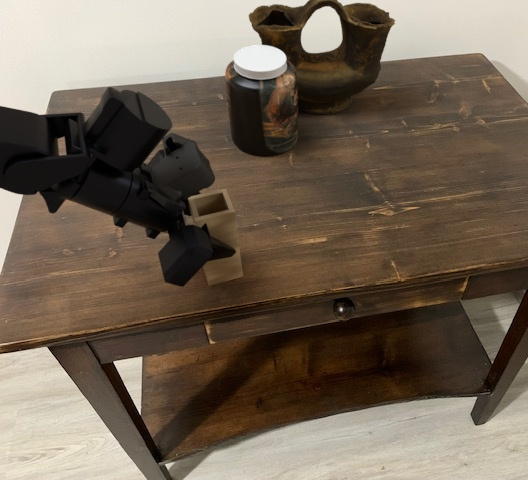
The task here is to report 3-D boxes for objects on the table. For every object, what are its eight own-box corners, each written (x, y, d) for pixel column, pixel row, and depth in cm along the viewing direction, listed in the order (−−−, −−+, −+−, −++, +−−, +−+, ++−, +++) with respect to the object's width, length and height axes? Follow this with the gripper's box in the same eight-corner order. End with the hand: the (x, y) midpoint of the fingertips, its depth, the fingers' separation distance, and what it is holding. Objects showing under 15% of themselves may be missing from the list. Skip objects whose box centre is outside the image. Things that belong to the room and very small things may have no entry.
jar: (226, 155, 90) (215, 75, 79) (236, 115, 98) (228, 37, 87) (295, 158, 90) (294, 79, 79) (300, 118, 98) (300, 41, 87)
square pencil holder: (208, 286, 71) (195, 221, 62) (201, 262, 74) (187, 196, 65) (243, 276, 73) (235, 211, 63) (235, 253, 75) (225, 188, 66)
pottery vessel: (257, 121, 97) (249, 14, 82) (253, 89, 104) (245, -15, 90) (390, 113, 100) (405, 8, 85) (377, 82, 107) (390, -20, 92)
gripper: (177, 194, 49) (291, 244, 60) (146, 90, 61) (246, 148, 72) (111, 270, 53) (230, 304, 64) (94, 158, 65) (197, 203, 76)
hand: (227, 234), depth 69 cm, fingers open, 7 cm apart
